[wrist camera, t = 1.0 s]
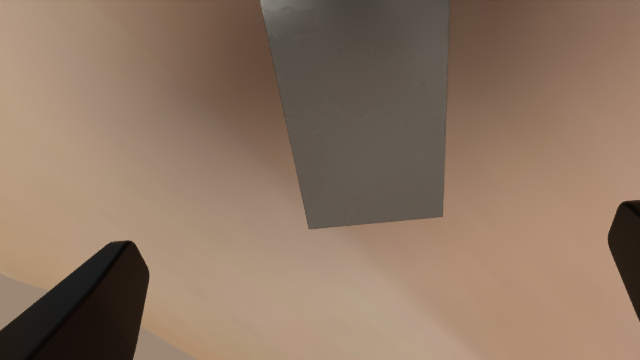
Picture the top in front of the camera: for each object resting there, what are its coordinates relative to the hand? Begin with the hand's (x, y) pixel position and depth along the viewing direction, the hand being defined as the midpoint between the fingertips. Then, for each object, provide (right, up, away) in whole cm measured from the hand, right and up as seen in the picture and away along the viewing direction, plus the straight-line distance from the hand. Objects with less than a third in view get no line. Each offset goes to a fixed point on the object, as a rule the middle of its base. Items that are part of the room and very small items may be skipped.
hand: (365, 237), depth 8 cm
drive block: (+1, +7, +10) cm, 12 cm away
